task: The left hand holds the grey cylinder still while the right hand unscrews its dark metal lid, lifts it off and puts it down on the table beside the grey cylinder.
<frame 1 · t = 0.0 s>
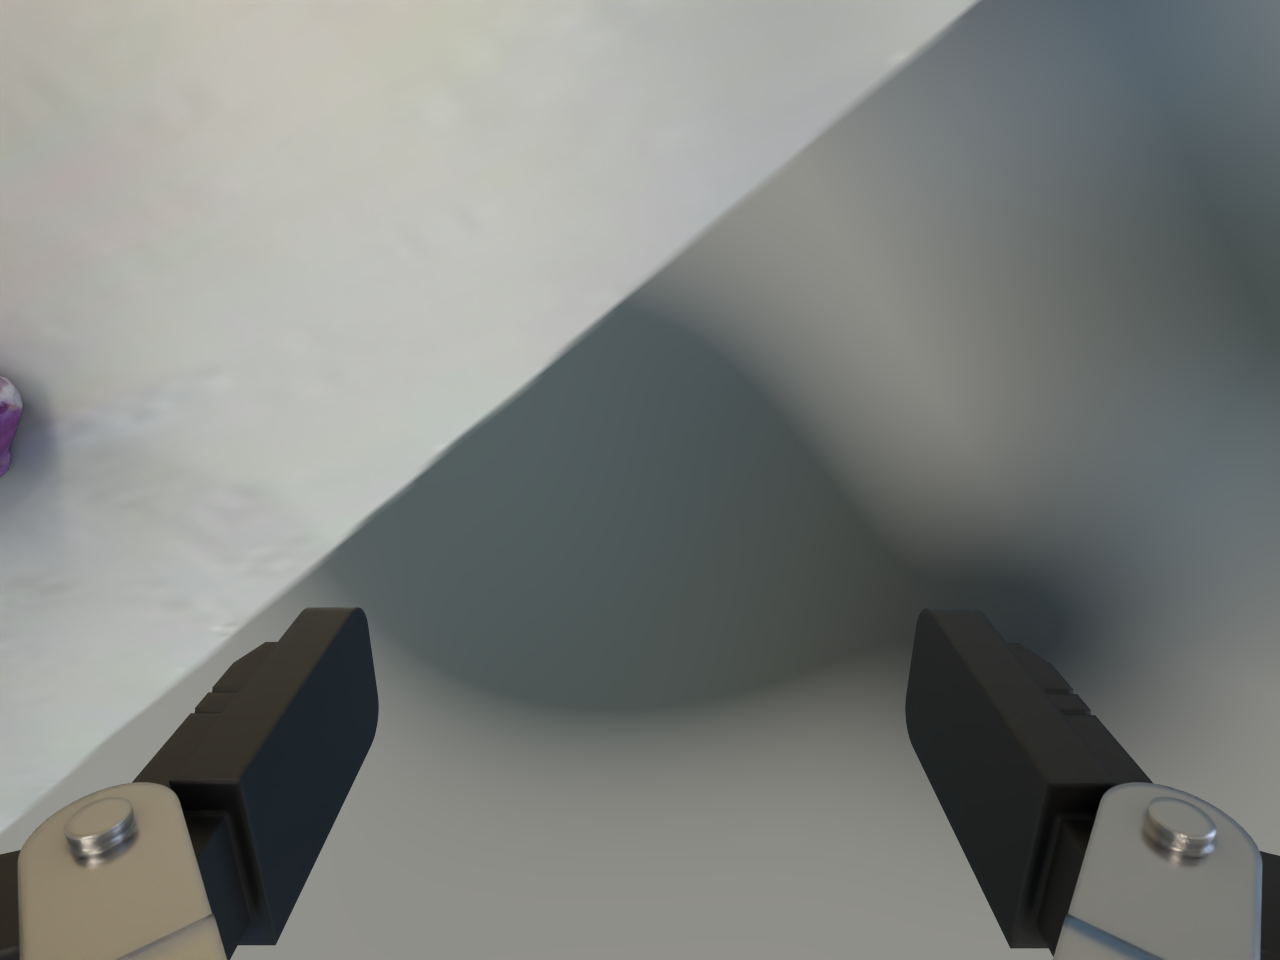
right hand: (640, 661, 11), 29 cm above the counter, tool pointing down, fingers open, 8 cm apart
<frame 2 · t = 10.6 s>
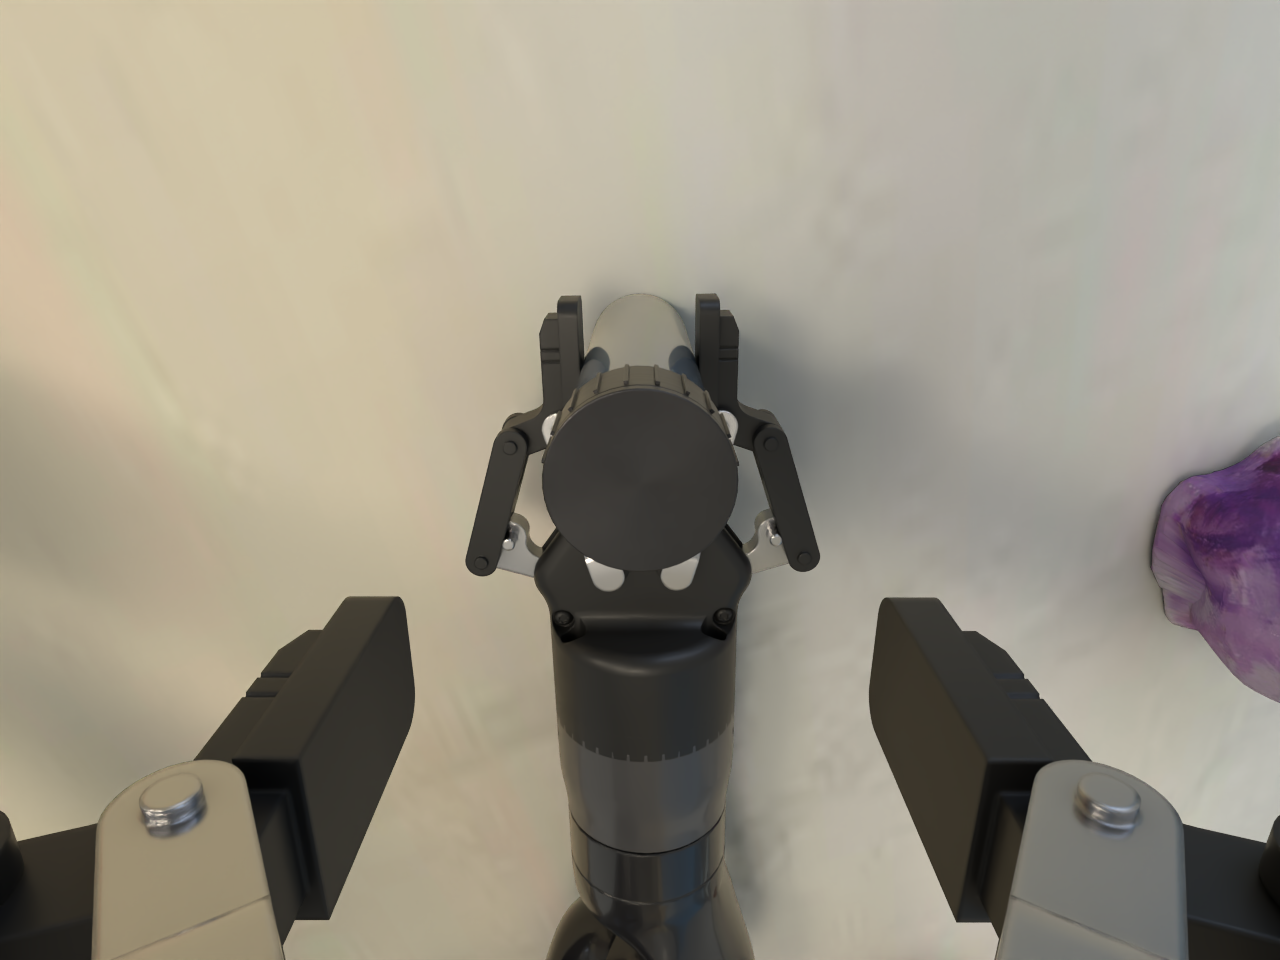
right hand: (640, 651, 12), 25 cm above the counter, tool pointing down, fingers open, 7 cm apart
left hand: (637, 299, 27), fingers closed on grey cylinder, 4 cm apart
lid: (640, 479, 19), point 17 cm above the counter, screwed on, not yet turned
grey cylinder: (639, 341, 35), on the counter, touching left hand
figurine: (1230, 545, 38), on the counter
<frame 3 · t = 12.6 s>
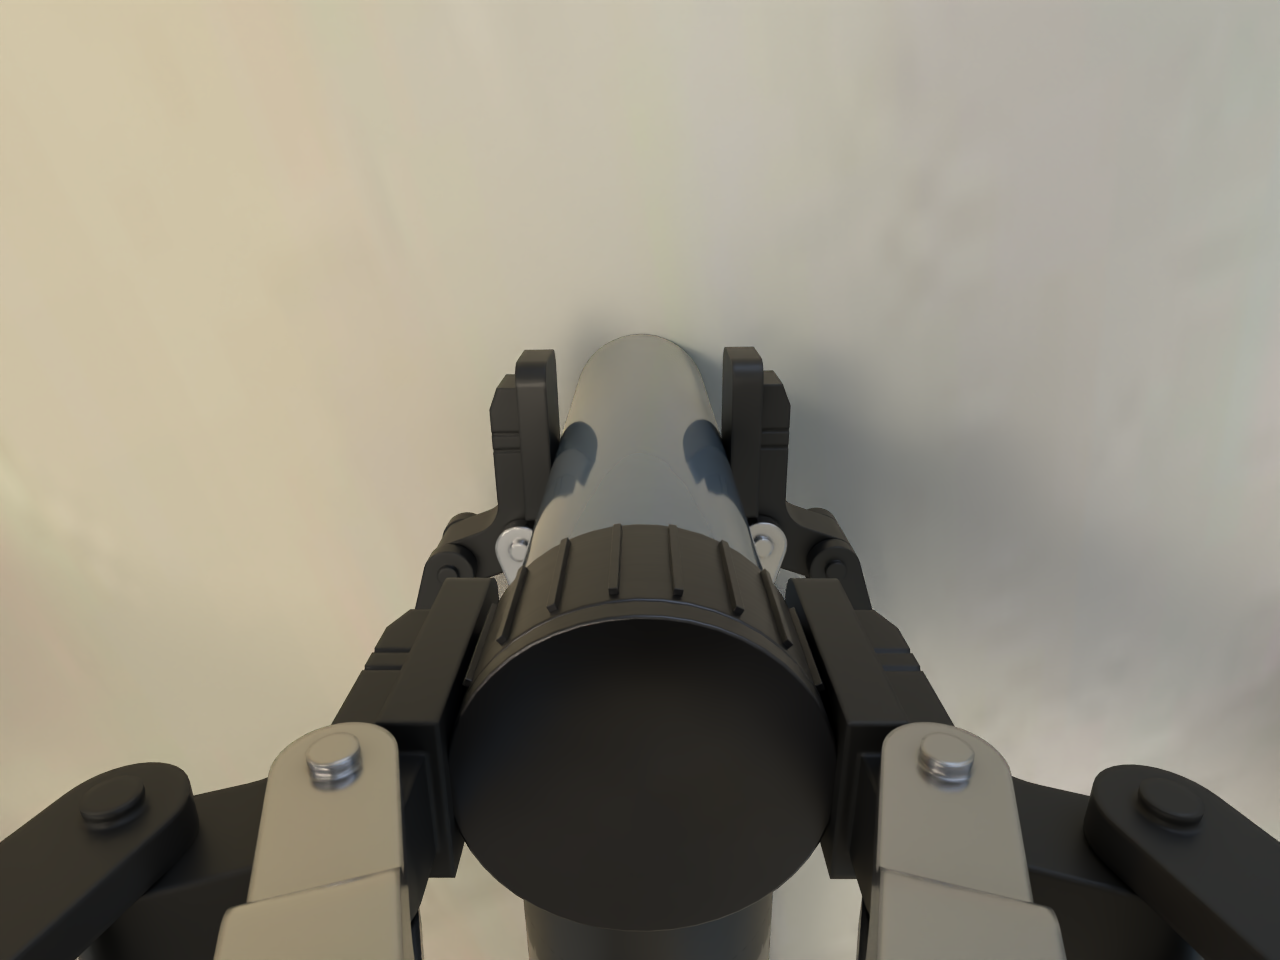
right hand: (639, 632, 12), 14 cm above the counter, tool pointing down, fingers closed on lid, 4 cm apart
lid: (642, 767, 9), point 17 cm above the counter, screwed on, not yet turned, touching right hand
grey cylinder: (640, 397, 26), on the counter, touching left hand
when the right hand's fingers open (15 cm above the counter, at t = 14.1 s): lid stays where it is, point 18 cm above the counter.
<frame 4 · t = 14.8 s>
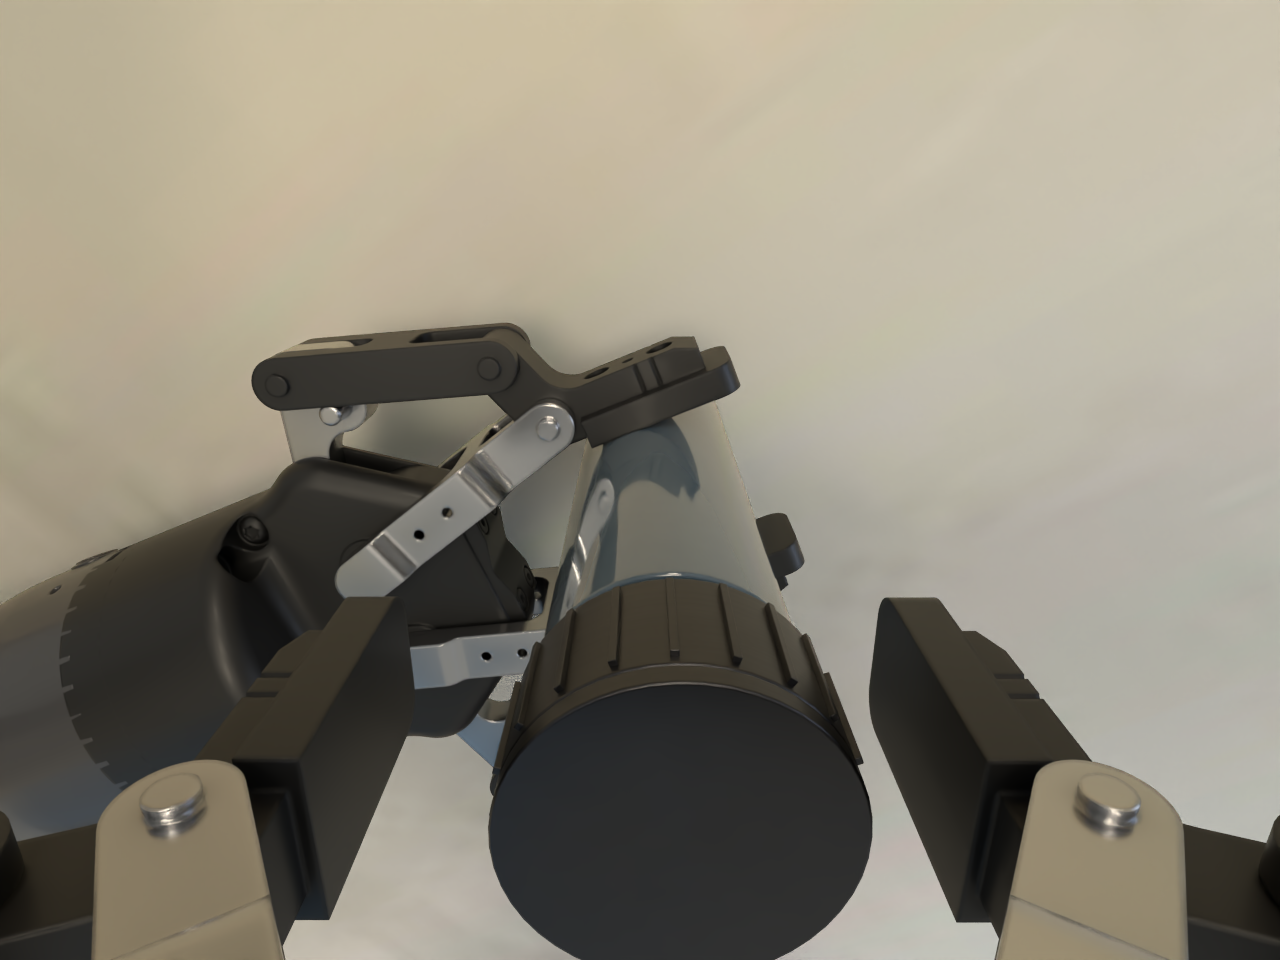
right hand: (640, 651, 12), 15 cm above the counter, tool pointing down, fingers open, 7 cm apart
left hand: (761, 454, 19), fingers closed on grey cylinder, 4 cm apart
lid: (678, 822, 10), point 18 cm above the counter, turned 99° so far, risen 0.3 cm, still on its thread
grey cylinder: (654, 419, 26), on the counter, touching left hand
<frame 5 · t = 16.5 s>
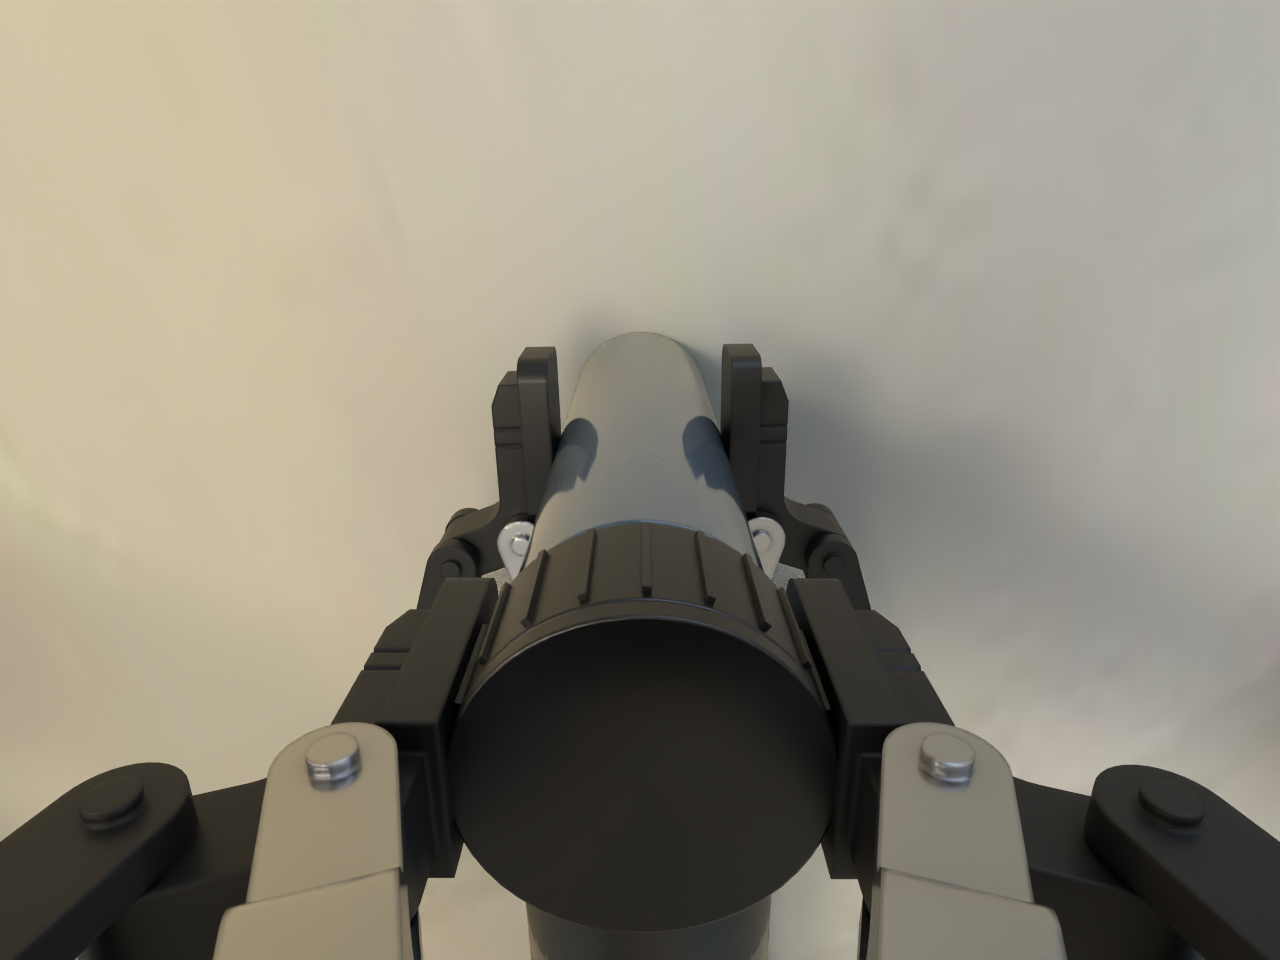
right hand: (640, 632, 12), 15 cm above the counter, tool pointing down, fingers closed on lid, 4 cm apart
lid: (642, 768, 9), point 18 cm above the counter, turned 99° so far, risen 0.3 cm, still on its thread, touching right hand
grey cylinder: (640, 395, 26), on the counter, touching left hand
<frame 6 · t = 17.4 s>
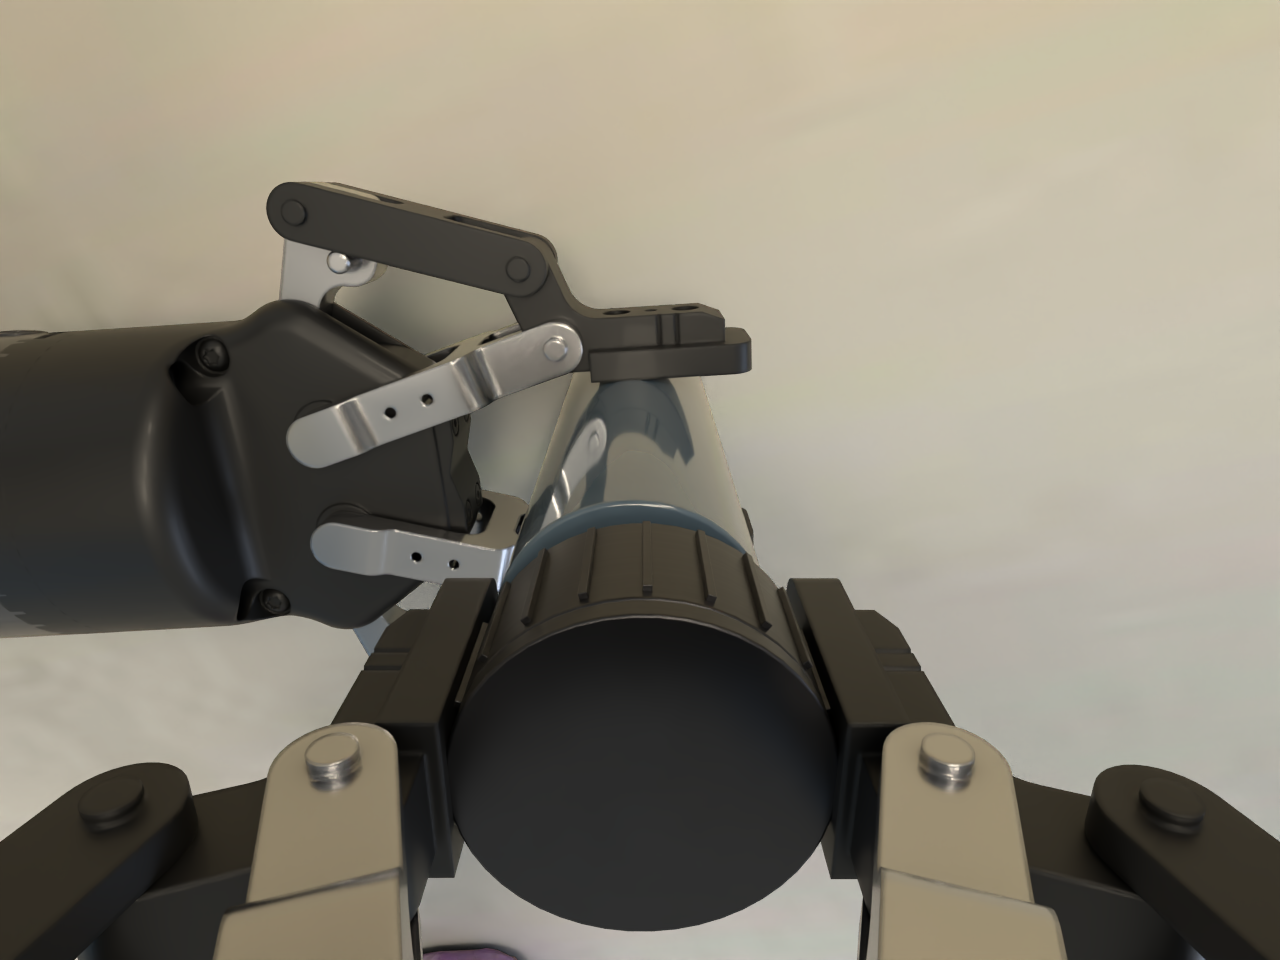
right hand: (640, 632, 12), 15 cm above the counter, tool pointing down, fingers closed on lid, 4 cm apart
left hand: (745, 443, 20), fingers closed on grey cylinder, 4 cm apart
lid: (642, 766, 9), point 18 cm above the counter, off its thread, touching right hand
grey cylinder: (636, 385, 26), on the counter, touching left hand
when the right hand's fingers open (0 cm above the counter, at t = 22.9 s): lid drops 1 cm, point 2 cm above the counter.
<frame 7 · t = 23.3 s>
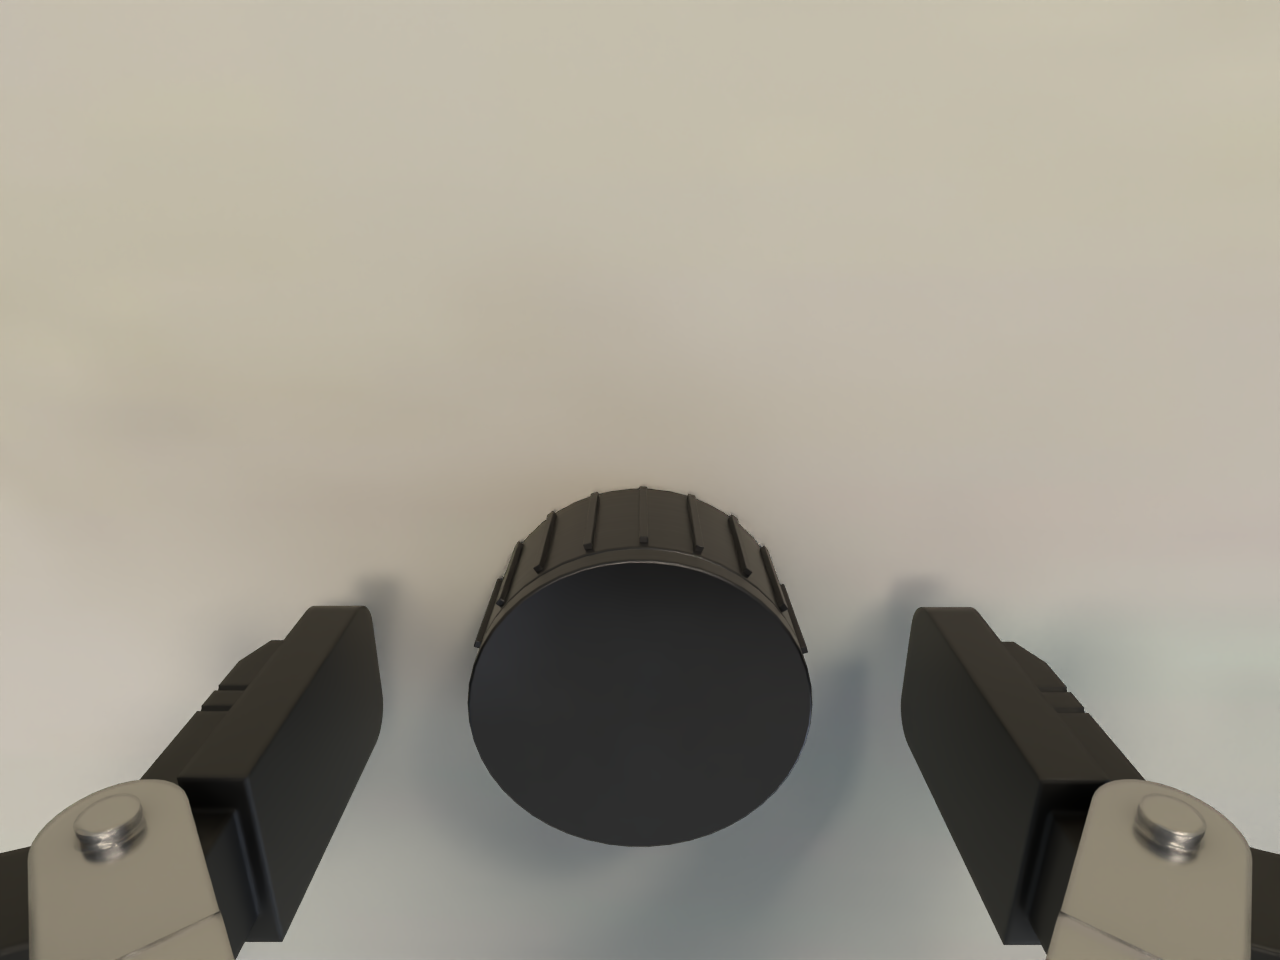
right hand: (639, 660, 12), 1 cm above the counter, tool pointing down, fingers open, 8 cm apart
lid: (640, 699, 11), point 2 cm above the counter, off its thread
when the left hand's fingers open (7 cm above the counter, at t = 23.9 s): grey cylinder stays where it is, on the counter.
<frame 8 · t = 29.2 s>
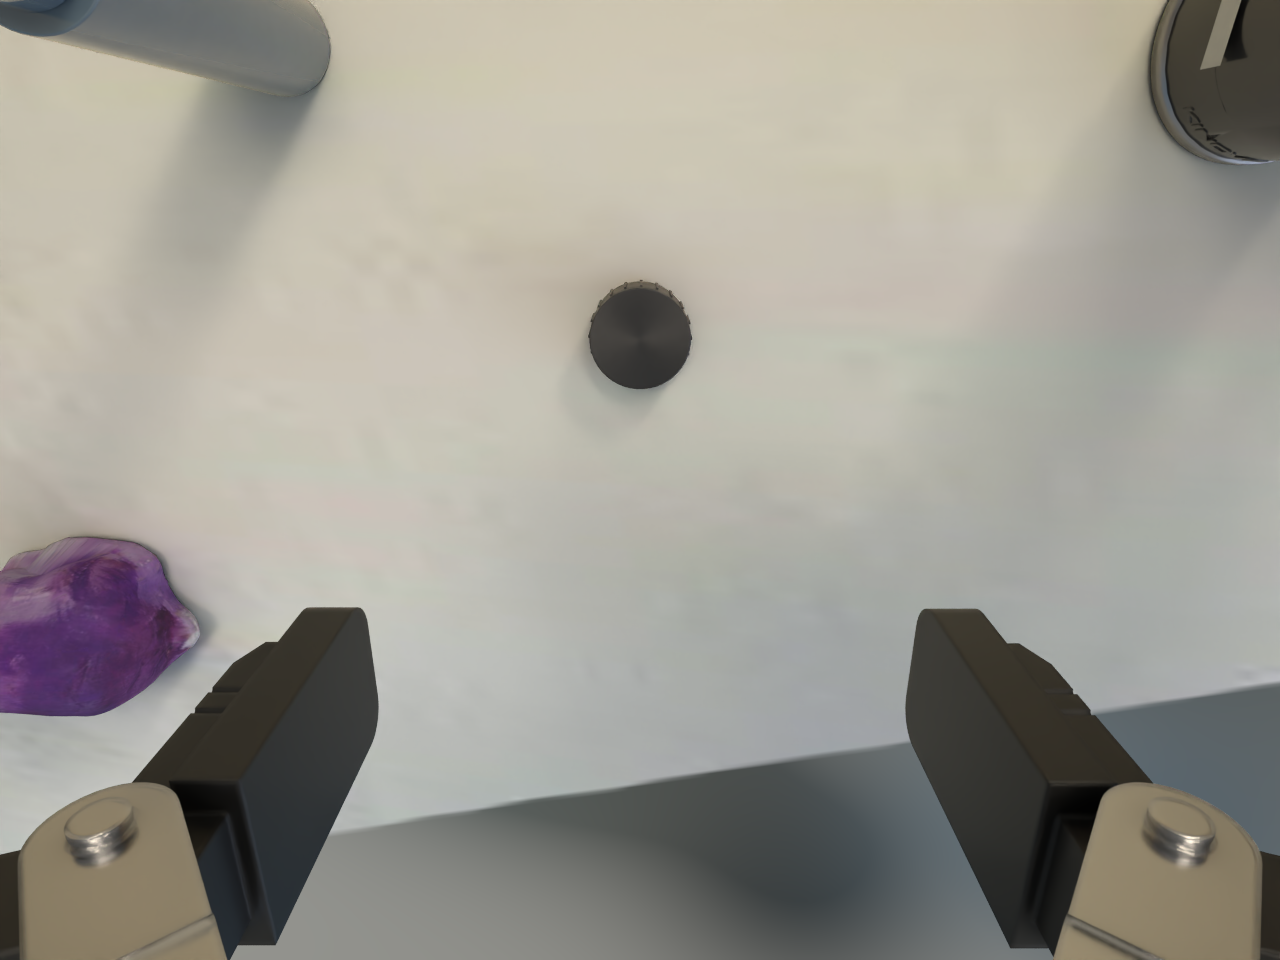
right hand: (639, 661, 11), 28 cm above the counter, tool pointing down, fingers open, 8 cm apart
lid: (640, 338, 36), point 2 cm above the counter, off its thread
grey cylinder: (280, 42, 33), on the counter
figurine: (99, 601, 43), on the counter
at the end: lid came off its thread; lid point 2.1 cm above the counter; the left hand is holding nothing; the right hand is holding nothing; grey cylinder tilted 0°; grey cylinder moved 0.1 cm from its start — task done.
